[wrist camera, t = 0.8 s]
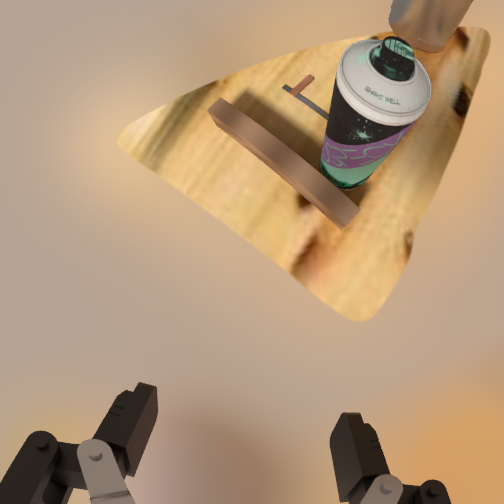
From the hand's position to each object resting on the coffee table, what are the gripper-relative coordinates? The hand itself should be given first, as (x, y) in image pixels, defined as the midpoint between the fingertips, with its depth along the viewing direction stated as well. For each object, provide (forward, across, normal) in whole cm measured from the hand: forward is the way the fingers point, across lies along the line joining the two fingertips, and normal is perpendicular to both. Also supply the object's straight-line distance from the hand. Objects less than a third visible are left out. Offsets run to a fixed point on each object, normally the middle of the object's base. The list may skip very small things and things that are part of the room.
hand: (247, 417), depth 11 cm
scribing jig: (+24, -3, -15) cm, 28 cm away
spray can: (+23, -7, -12) cm, 27 cm away
